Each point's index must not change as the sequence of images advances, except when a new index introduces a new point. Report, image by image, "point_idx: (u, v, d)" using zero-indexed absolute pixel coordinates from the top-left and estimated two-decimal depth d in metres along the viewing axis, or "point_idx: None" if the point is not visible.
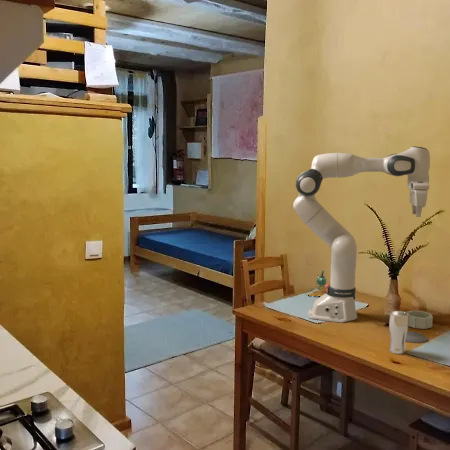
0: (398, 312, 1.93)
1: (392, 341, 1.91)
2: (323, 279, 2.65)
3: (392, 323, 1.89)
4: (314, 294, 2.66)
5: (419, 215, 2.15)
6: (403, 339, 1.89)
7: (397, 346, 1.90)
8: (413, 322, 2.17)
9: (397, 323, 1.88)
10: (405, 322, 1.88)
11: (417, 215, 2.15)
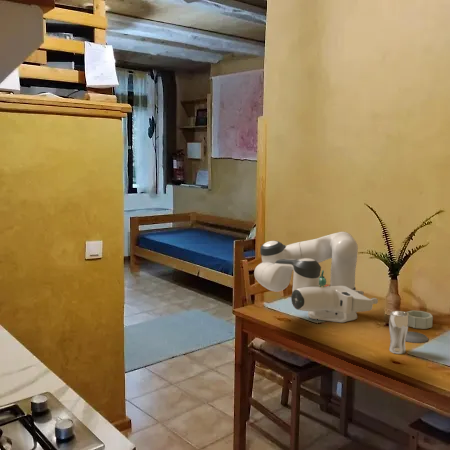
0: (398, 312, 1.93)
1: (392, 341, 1.91)
2: (323, 279, 2.65)
3: (392, 323, 1.89)
4: None
5: (376, 300, 1.80)
6: (403, 339, 1.89)
7: (397, 346, 1.90)
8: (413, 322, 2.17)
9: (397, 323, 1.88)
10: (405, 322, 1.88)
11: (375, 302, 1.80)
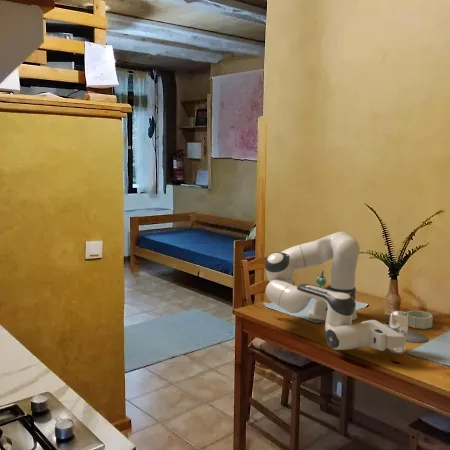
0: (398, 312, 1.93)
1: None
2: (323, 279, 2.65)
3: (392, 323, 1.89)
4: None
5: (406, 334, 1.87)
6: None
7: None
8: (413, 322, 2.17)
9: (397, 323, 1.88)
10: (405, 322, 1.88)
11: (406, 336, 1.87)
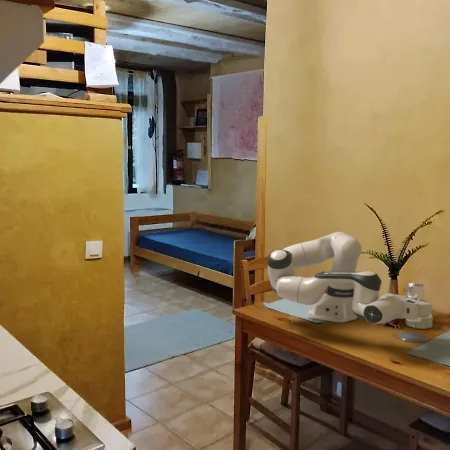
0: (411, 284, 2.06)
1: None
2: None
3: (412, 294, 2.01)
4: None
5: (425, 302, 2.01)
6: None
7: None
8: (413, 322, 2.17)
9: (417, 293, 2.00)
10: (423, 292, 2.01)
11: None
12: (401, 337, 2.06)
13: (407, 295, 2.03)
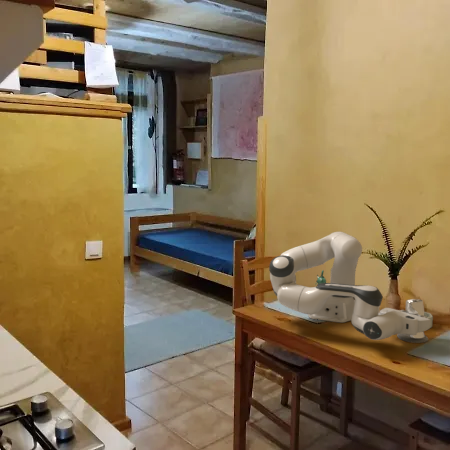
0: (410, 300, 2.07)
1: None
2: (323, 279, 2.65)
3: (411, 310, 2.02)
4: None
5: (426, 317, 2.01)
6: None
7: None
8: None
9: (416, 309, 2.01)
10: (422, 307, 2.02)
11: None
12: (401, 337, 2.06)
13: (407, 312, 2.04)
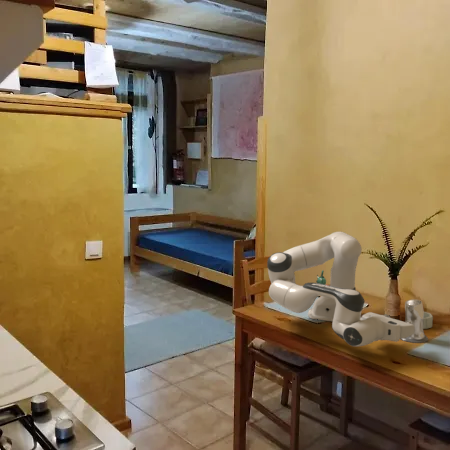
0: (410, 301, 2.05)
1: None
2: (323, 279, 2.65)
3: (411, 313, 2.00)
4: None
5: (410, 322, 1.93)
6: (422, 325, 2.02)
7: (418, 332, 2.02)
8: None
9: (416, 312, 1.99)
10: (422, 309, 2.00)
11: None
12: None
13: (406, 314, 2.02)
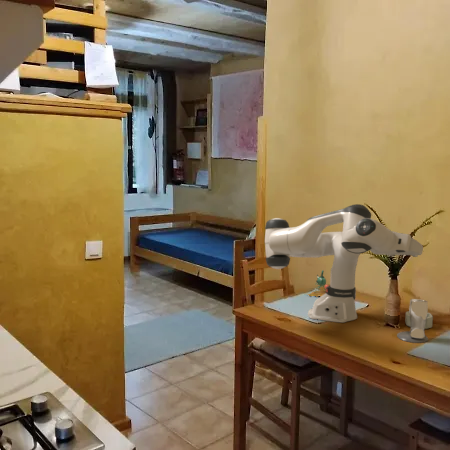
0: (415, 300, 2.08)
1: (414, 327, 2.03)
2: (323, 279, 2.65)
3: (415, 309, 2.02)
4: (314, 294, 2.66)
5: None
6: (424, 324, 2.03)
7: (419, 331, 2.02)
8: None
9: (421, 308, 2.01)
10: (426, 307, 2.02)
11: (416, 255, 1.92)
12: (401, 337, 2.06)
13: (411, 310, 2.04)
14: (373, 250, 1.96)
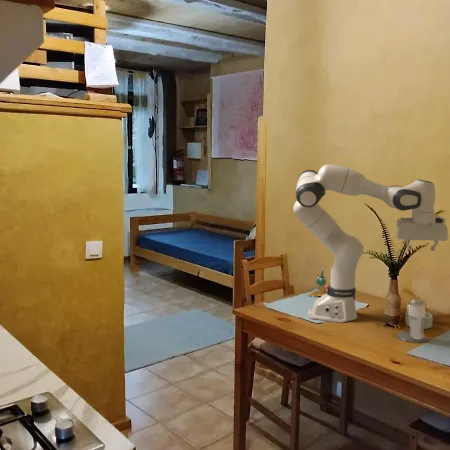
0: (412, 301, 2.04)
1: (414, 330, 2.02)
2: (323, 279, 2.65)
3: (413, 314, 1.99)
4: (314, 294, 2.66)
5: None
6: (423, 325, 2.02)
7: (419, 333, 2.02)
8: None
9: (419, 313, 1.99)
10: (424, 310, 2.00)
11: (434, 249, 2.13)
12: (401, 337, 2.06)
13: (409, 314, 2.01)
14: (403, 227, 2.13)
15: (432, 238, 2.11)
